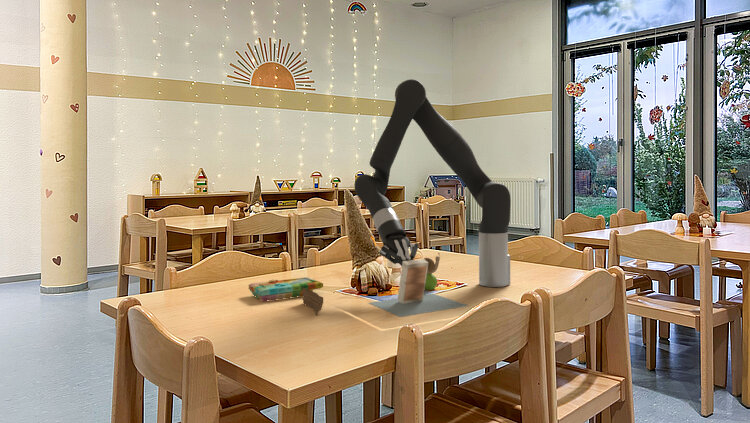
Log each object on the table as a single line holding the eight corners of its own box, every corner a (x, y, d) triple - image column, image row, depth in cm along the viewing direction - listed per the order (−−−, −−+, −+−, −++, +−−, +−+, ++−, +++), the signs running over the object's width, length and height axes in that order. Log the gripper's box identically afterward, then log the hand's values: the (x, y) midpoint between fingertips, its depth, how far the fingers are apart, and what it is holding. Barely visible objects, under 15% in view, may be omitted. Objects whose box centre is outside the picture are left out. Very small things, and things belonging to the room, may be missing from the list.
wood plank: (298, 304, 167) (298, 287, 167) (305, 303, 168) (305, 286, 168) (317, 316, 153) (317, 298, 153) (324, 315, 154) (324, 297, 154)
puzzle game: (248, 281, 179) (307, 274, 189) (249, 296, 180) (308, 288, 190) (260, 288, 169) (323, 280, 179) (261, 304, 169) (323, 295, 179)
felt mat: (432, 295, 175) (432, 293, 175) (469, 307, 159) (468, 305, 159) (368, 304, 165) (368, 302, 165) (400, 318, 149) (400, 316, 149)
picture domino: (418, 296, 168) (423, 258, 164) (423, 301, 166) (428, 262, 162) (397, 299, 165) (402, 261, 161) (402, 304, 163) (407, 265, 159)
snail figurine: (439, 292, 178) (439, 254, 177) (418, 292, 180) (418, 253, 179) (441, 288, 184) (440, 251, 183) (421, 288, 185) (420, 251, 184)
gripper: (373, 219, 169) (394, 267, 159) (412, 217, 175) (435, 262, 165) (365, 236, 174) (385, 283, 164) (403, 232, 180) (425, 278, 170)
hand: (410, 272), depth 164 cm, fingers closed
